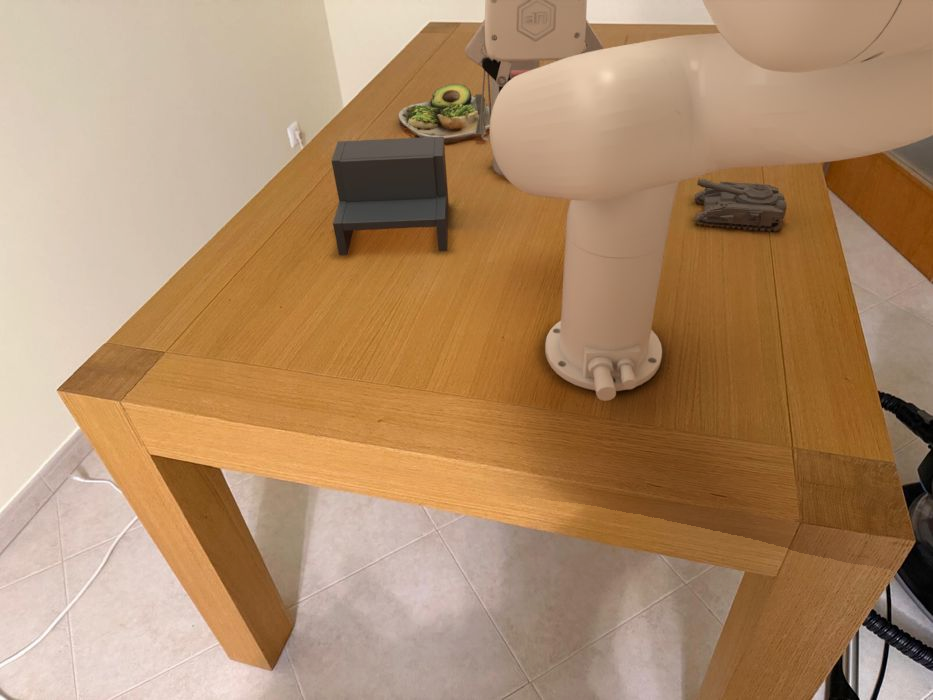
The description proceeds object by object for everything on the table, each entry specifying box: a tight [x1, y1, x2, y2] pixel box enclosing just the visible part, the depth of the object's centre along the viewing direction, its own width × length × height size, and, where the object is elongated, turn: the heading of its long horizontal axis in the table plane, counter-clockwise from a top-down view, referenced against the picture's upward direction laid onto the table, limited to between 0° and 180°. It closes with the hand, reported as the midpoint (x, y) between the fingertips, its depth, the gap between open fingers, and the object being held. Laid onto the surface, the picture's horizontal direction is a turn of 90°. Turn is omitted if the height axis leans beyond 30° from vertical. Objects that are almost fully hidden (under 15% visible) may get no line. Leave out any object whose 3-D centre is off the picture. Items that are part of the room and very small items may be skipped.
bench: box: [331, 137, 450, 256], centre depth 93 cm, size 12×15×11 cm
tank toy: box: [694, 178, 788, 232], centre depth 94 cm, size 12×10×5 cm
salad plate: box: [397, 83, 492, 144], centre depth 122 cm, size 19×18×5 cm
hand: (531, 114), depth 76 cm, fingers closed on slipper, 4 cm apart
